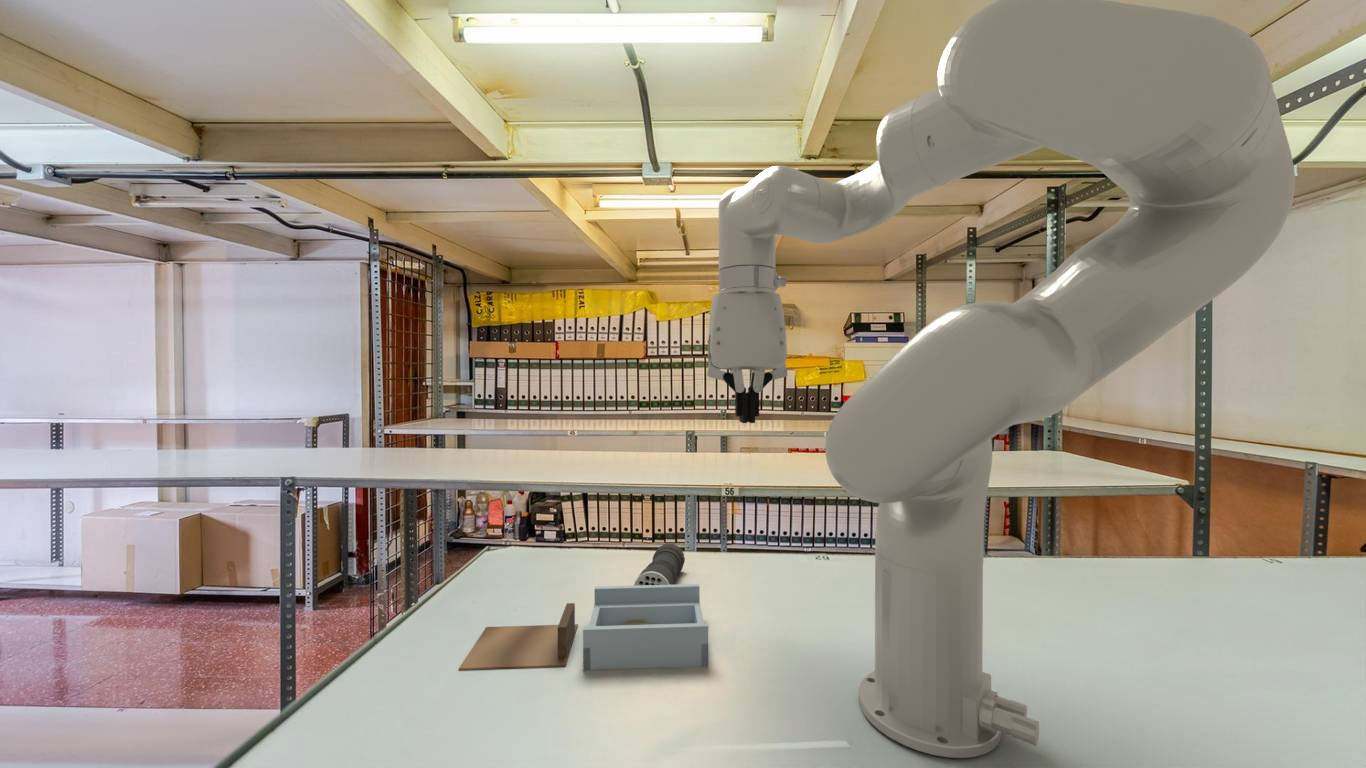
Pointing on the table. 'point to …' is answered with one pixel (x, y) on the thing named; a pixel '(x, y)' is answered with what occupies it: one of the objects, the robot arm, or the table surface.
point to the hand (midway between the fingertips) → (747, 421)
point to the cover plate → (524, 645)
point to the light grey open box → (646, 628)
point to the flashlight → (663, 566)
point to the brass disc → (636, 623)
